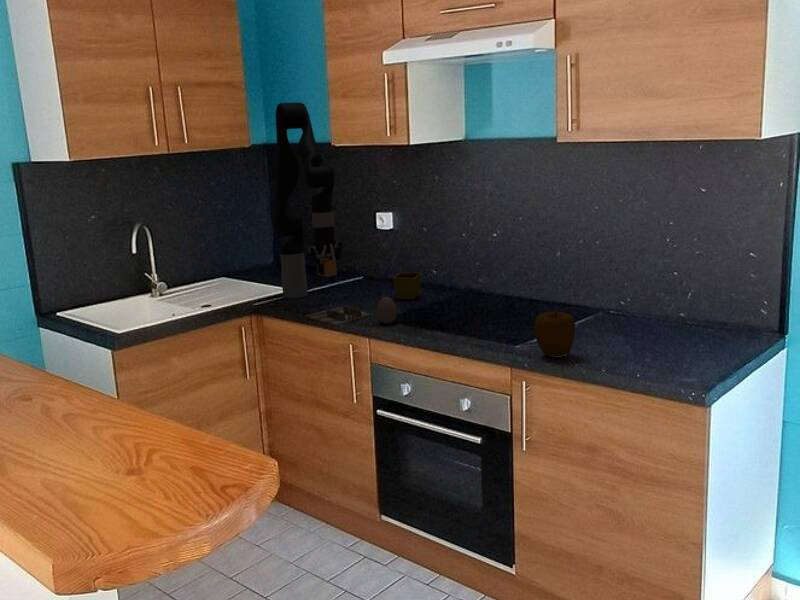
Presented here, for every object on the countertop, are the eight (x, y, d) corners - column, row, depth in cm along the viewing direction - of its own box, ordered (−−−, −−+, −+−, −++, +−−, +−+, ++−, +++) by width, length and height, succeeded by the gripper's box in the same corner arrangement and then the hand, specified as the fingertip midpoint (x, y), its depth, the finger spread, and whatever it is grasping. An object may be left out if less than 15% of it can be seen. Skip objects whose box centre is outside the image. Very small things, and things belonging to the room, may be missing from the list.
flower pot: (416, 301, 297) (414, 277, 295) (393, 301, 300) (392, 277, 298) (423, 296, 305) (421, 272, 303) (401, 295, 308) (399, 272, 306)
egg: (373, 324, 268) (371, 298, 266) (385, 320, 273) (384, 293, 271) (389, 327, 264) (387, 300, 262) (401, 322, 269) (399, 295, 267)
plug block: (317, 274, 283) (316, 259, 281) (327, 272, 285) (325, 257, 284) (327, 276, 278) (326, 261, 277) (336, 274, 281) (335, 259, 279)
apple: (531, 360, 222) (530, 315, 219) (540, 349, 231) (540, 305, 229) (571, 363, 217) (570, 317, 215) (579, 352, 227) (579, 307, 224)
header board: (305, 316, 283) (304, 304, 282) (342, 308, 293) (341, 295, 292) (335, 325, 269) (334, 312, 268) (373, 316, 279) (372, 303, 278)
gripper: (333, 221, 285) (337, 269, 289) (300, 226, 276) (304, 275, 280) (346, 222, 279) (349, 271, 283) (312, 228, 270) (316, 278, 274)
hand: (327, 273), depth 281 cm, fingers closed on plug block, 4 cm apart
